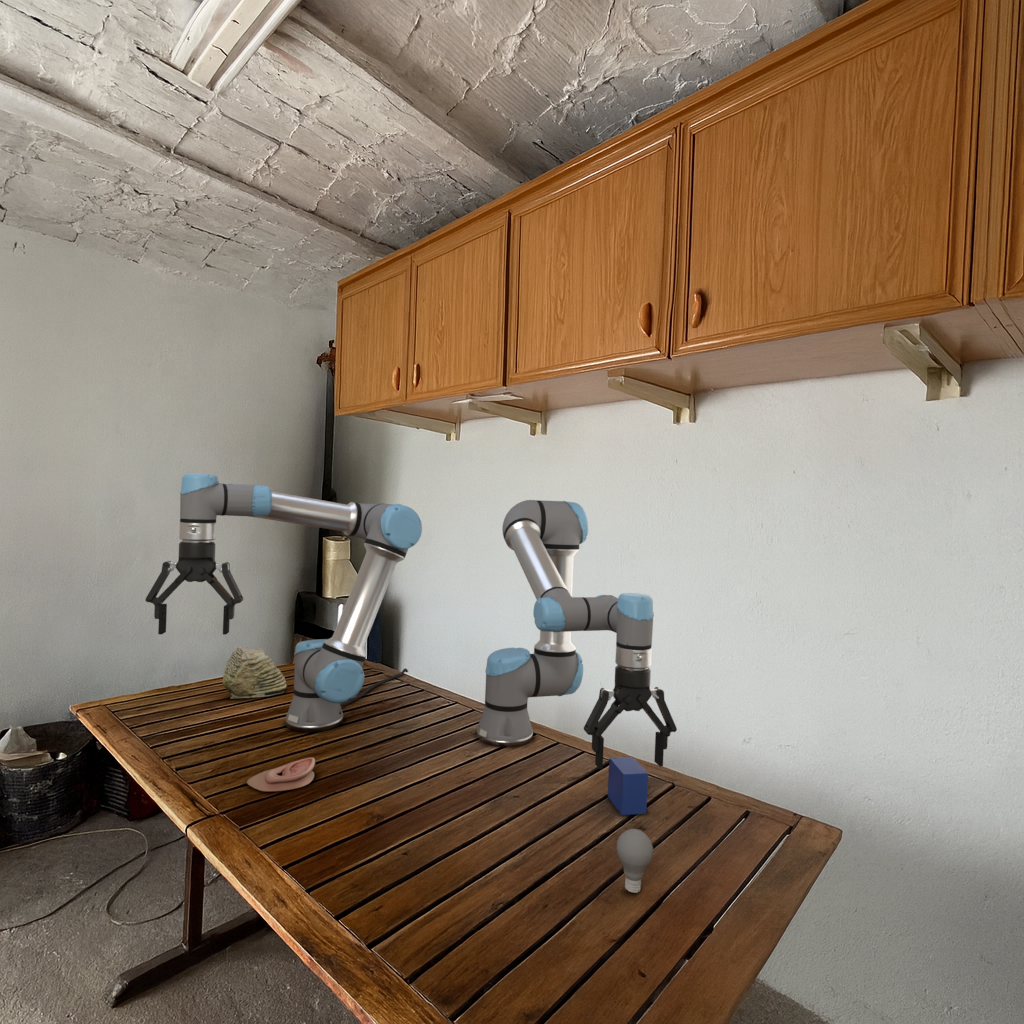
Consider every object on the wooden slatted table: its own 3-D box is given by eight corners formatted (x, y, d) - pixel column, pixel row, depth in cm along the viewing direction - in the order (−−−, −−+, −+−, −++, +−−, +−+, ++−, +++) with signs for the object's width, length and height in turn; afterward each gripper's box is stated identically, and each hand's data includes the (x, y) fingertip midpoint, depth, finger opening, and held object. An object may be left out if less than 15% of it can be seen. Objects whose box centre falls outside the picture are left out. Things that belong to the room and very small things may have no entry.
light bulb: (610, 879, 108) (613, 822, 108) (644, 879, 109) (647, 822, 109) (619, 902, 102) (622, 840, 102) (655, 901, 103) (658, 840, 103)
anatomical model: (238, 769, 136) (269, 749, 147) (238, 787, 136) (269, 766, 147) (295, 777, 133) (322, 756, 144) (294, 796, 133) (321, 773, 144)
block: (607, 796, 140) (609, 757, 140) (630, 794, 141) (632, 756, 141) (621, 815, 132) (623, 774, 131) (646, 813, 133) (648, 773, 132)
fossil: (218, 695, 195) (220, 647, 195) (278, 685, 208) (279, 640, 207) (228, 703, 189) (230, 653, 188) (289, 692, 201) (290, 645, 201)
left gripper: (131, 540, 139) (128, 636, 139) (251, 543, 144) (248, 636, 144) (144, 538, 146) (141, 629, 147) (258, 541, 151) (255, 629, 152)
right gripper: (582, 671, 130) (578, 775, 130) (695, 670, 134) (691, 769, 135) (572, 662, 137) (568, 760, 137) (679, 661, 142) (675, 756, 142)
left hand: (194, 633), depth 146 cm, fingers open, 13 cm apart
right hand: (629, 765), depth 136 cm, fingers open, 13 cm apart
